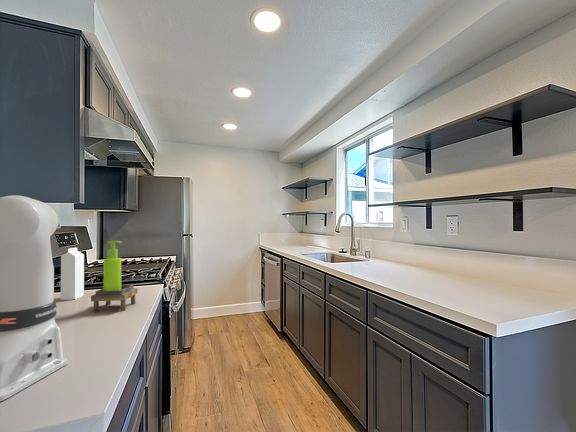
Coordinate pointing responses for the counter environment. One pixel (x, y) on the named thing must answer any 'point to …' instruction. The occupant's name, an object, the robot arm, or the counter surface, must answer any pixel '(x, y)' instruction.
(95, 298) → the stool
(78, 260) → the milk
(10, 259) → the robot arm
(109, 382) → the counter surface
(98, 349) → the counter surface
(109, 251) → the soap dispenser
